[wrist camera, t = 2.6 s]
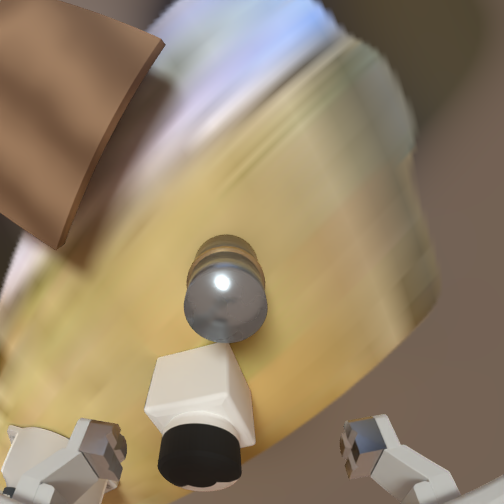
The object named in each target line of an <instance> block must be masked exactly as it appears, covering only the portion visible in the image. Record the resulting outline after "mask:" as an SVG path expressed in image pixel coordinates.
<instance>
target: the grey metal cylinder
mask: <svg viewBox="0 0 504 504" xmlns="http://www.w3.org/2000/svg"><path fill="white" fill-rule="evenodd" d="M264 290H265V278H264V274H263V270H262V268H261V266H260V264H259V263H258V260H257V256H256V253H255V251H254V250H253V248H252V247H251V246H250V244H249V243H247V242H246V241H245V240H243V239H241V238H239V237H237V236H233V235H219V236H215V237H213V238H210V239H209V240H207V241H206V242H205V243H203V245H202V246H201V247H200V248H199V250H198V252H197V254H196V257H195V260H194V262H193V263H192V265H191V267H190V269H189V272H188V276H187V292H186V296H185V301H184V313H185V316H186V319H187V321H188V323H189V325H190V326H191V327H192V329H193V330H194V331H195V332H196V333H198V334H199V335H200V336H202V337H204V338H206V339H208V340H210V341H214V342H219V343H233V342H238V341H242V340H244V339H246V338H248V337H250V336H251V335H253V334H254V333H255V332H256V331H258V329H259V328H260V327H261V326H262V324H263V323H264V320H265V318H266V315H267V300H266V295H265V291H264Z"/></svg>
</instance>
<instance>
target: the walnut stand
mask: <svg viewBox="0 0 504 504" xmlns="http://www.w3.org/2000/svg"><path fill="white" fill-rule="evenodd" d="M164 47H165V44H164V42H163V41H162V39H160V38H158V37H156V36H154V35H151V34H149V33H147V32H144V31H142V30H140V29H137V28H135V27H132V26H130V25H128V24H125V23H123V22H120V21H117V20H115V19H112V18H109V17H107V16H104V15H101V14H99V13H96V12H93V11H90V10H87V9H84V8H81V7H78V6H75V5H72V4H69V3H65V2H62V1H59V0H1V1H0V213H1V214H3V215H4V216H6V217H7V218H9V219H10V220H11V221H13V222H14V223H16V224H17V225H19V226H20V227H21V228H23V229H24V230H26V231H27V232H29V233H30V234H32V235H33V236H35V237H36V238H38V239H39V240H41V241H42V242H44V243H45V244H47V245H48V246H50V247H52V248H53V249H55V250H57V249H58V248H60V247H61V246H62V245H64V244H65V241H66V239H67V236H68V233H69V230H70V228H71V225H72V222H73V220H74V217H75V215H76V212H77V209H78V207H79V205H80V202H81V200H82V197H83V195H84V193H85V190H86V188H87V186H88V183H89V181H90V179H91V177H92V174H93V172H94V170H95V168H96V166H97V163H98V161H99V159H100V157H101V155H102V153H103V151H104V149H105V147H106V145H107V143H108V141H109V139H110V137H111V135H112V133H113V131H114V129H115V127H116V126H117V124H118V122H119V120H120V118H121V116H122V115H123V113H124V111H125V109H126V107H127V106H128V104H129V102H130V100H131V99H132V97H133V95H134V94H135V92H136V90H137V88H138V87H139V85H140V84H141V82H142V80H143V79H144V77H145V75H146V74H147V72H148V71H149V69H150V68H151V66H152V64H153V63H154V61H155V60H156V58H157V57H158V55H159V54H160V52H161V51H162V49H163V48H164Z"/></svg>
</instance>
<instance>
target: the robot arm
mask: <svg viewBox="0 0 504 504" xmlns="http://www.w3.org/2000/svg"><path fill="white" fill-rule="evenodd" d="M344 430H345V432H344V433H342V434H341V438H340V450H341V454H342V457H343V458H345V459H346V460H347V462H346V464H345V468H346V471H347V475H348V478H349V479H355V478H361V477H366V476H370V477H371V478H372V479H374V480H375V481H376V482H377V483H378V484H379V485H381V486H382V487H383V488H384V489H385V490H386V491H388V492H389V493H390V494H391V495H392V496H394V497H395V498H396V499H397V500H398V501H400V502H401V503H400V504H504V474H503V475H502V476H500V477H498V478H496V479H494V480H492V481H491V482H489V483H487V484H485V485H483V486H481V487H479V488H477V489H475V490H473V491H470V492H469V493H466V494H464V495H462V496H461V494H460V492H459V490H458V488H457V486H456V484H455V482H454V480H453V478H452V476H451V474H450V473H449V471H447V470H446V469H444V468H442V467H441V466H439V465H437V464H435V463H434V462H432V461H430V460H429V459H427V458H425V457H424V456H422V455H420V454H419V453H417V452H416V451H414V450H412V449H411V448H409V447H407V446H406V445H401V444H400V443H399V440H398V438H397V436H396V434H395V432H394V429H393V428H392V425H391V423H390V421H389V419H388V417H387V415H385V414H382V415H378V416H373V417H371V416H370V417H365V418H360V419H354V420H348V421H346V422H345V424H344ZM120 431H121V429H120V427H119V425H118V424H115V423H109V422H103V421H97V420H92V419H86V418H80V419H79V420H78V421H77V424H76V426H75V428H74V430H73V433H72V435H71V437H70V440H69V439H67V438H65V437H63V436H61V435H59V434H57V433H54V432H52V431H49V430H46V429H42V428H37V427H27V428H20V427H17V426H13V425H9V427H8V430H7V432H8V435H9V438H10V441H11V444H12V445H11V447H10V450H9V452H8V454H7V456H6V459H5V461H4V464H3V466H2V469H1V472H2V473H3V477H4V479H5V481H6V485H7V487H6V488H4V491H3V493H2V494H1V493H0V504H101V502H102V499H103V495H104V494H105V493H107V492H109V491H111V490H113V489H115V488H117V486H118V483H119V481H120V477H121V473H122V469H123V468H122V466H121V464H120V463H121V462H122V461H123V460H125V458H126V454H127V444H126V440H125V438H124V436H122V435H121V434H120Z"/></svg>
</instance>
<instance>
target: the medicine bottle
mask: <svg viewBox="0 0 504 504" xmlns="http://www.w3.org/2000/svg"><path fill="white" fill-rule="evenodd" d="M144 411H145V413H146V414H147V416H148V417H149V418H150V419H151V421H152V422H153V423H154V425H155V426H156V427H157V428H158V430H159V431H160V432H161V434H162V441H161V447H160V453H159V460H158V470H159V472H160V473H161V474H162V476H163V477H164V478H165V479H166V480H167V481H169V482H170V483H172V484H174V485H176V486H178V487H181V488H184V489H188V490H193V491H216V490H221V489H224V488H227V487H229V486H231V485H233V484H234V483H235V482H236V481H237V480H238V479H239V478H240V476H241V454H240V448H243V447H248V446H252V445H254V444H255V443H256V440H255V430H254V420H253V409H252V399H251V391H250V389H249V387H248V384H247V382H246V380H245V378H244V376H243V373H242V371H241V369H240V367H239V365H238V362H237V360H236V358H235V356H234V353H233V351H232V349H231V347H230V344H229V343H219V342H218V343H214V344H210V345H206V346H202V347H199V348H195V349H191V350H187V351H183V352H179V353H175V354H170V355H166V356H162V357H159V358H158V359H157V361H156V365H155V369H154V372H153V376H152V380H151V384H150V387H149V391H148V395H147V399H146V403H145V407H144Z"/></svg>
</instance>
